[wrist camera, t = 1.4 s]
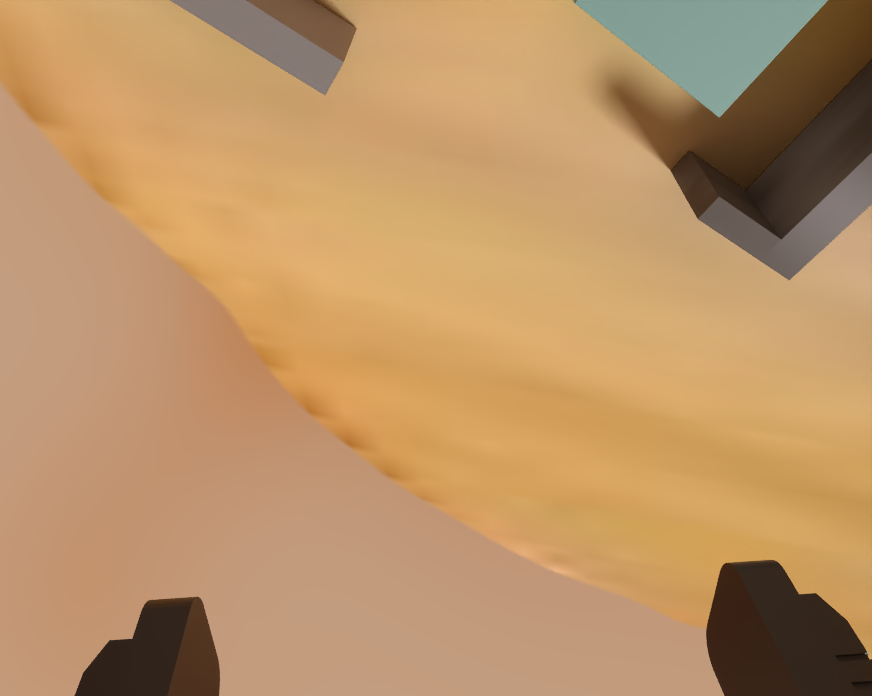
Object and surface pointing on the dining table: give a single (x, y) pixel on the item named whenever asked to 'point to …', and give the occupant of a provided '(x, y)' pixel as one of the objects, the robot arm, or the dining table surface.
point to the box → (283, 34)
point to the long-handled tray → (794, 186)
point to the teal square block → (706, 39)
